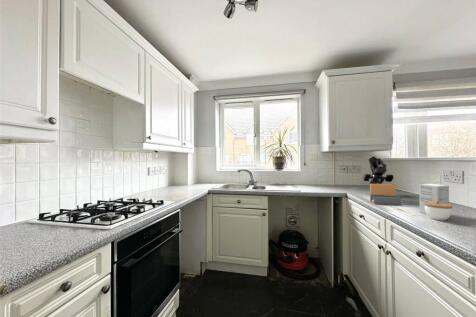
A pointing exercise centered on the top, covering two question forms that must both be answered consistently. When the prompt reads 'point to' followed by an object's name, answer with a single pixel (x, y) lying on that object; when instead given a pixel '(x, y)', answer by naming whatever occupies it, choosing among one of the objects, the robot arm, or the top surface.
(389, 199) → the cable duct
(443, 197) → the supplement box
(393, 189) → the duct cover
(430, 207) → the lidded jar
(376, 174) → the robot arm
